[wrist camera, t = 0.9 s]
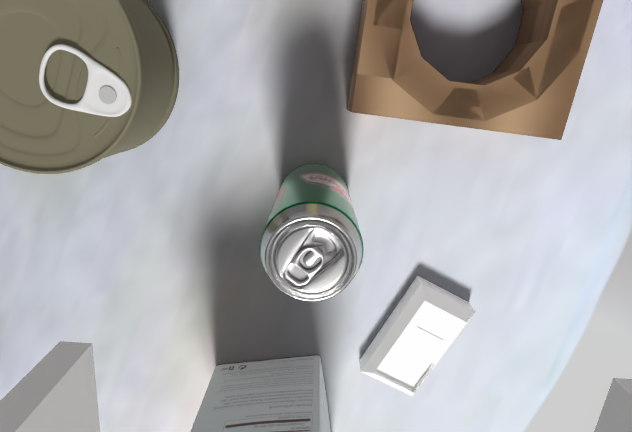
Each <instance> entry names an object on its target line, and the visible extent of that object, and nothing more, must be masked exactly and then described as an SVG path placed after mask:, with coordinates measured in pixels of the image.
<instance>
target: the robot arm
mask: <svg viewBox="0 0 632 432" xmlns="http://www.w3.org/2000/svg"><path fill="white" fill-rule="evenodd" d="M0 432H100V426H99V415H98V404H97V393H96V382H95V371H94V359H93V348H92V344H91V343H75V342H59V343H58V344H57V345H56V346H55V347H54V348H53V349H52V350H51V351H50V352H49V353H48V354H47V355H46V356H45V357H44V358H43V359H42V360H41V361H40V362H39V363H38V364H37V365H36V366H35V367H34V368H33V369H32V370H31V371H30V372H29V373H28V374H27V375H26V376H25V377H24V378H23V379H22V380H21V381H20V382H19V383H18V384H17V385H16V386H15V387H14V388H13V389H12V390H11V391H10V392H9V393H8V394H7V395H6V396H5V397H4V398H3V399H2V400H1V401H0ZM594 432H632V379H618V378H613V381H612V384H611V386H610V389H609V392H608V395H607V398H606V400H605V403H604V406H603V409H602V411H601V414H600V417H599V420H598V423H597V425H596V428H595V431H594Z"/></svg>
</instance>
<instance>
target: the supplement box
mask: <svg viewBox="0 0 632 432" xmlns="http://www.w3.org/2000/svg"><path fill="white" fill-rule="evenodd" d="M191 432H331V429H330V421H329V413H328V404H327V397H326V390H325V383H324V376H323V369H322V363H321V357H320V356H319V355H315V356H305V357H294V358H284V359H274V360H264V361H254V362H243V363H234V364H224V365H217V366H216V368H215V370H214V373H213V375H212V378H211V380H210V383H209V386H208V388H207V391H206V393H205V396H204V399H203V401H202V404H201V406H200V409H199V411H198V414H197V417H196V419H195V422H194V424H193V427H192V430H191Z"/></svg>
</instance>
